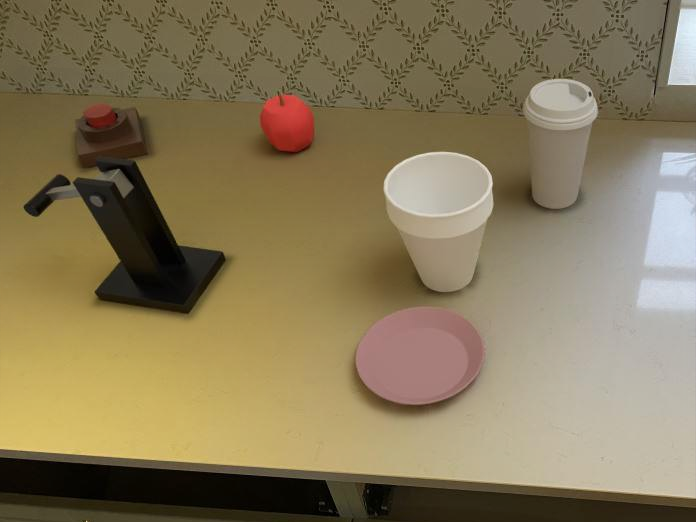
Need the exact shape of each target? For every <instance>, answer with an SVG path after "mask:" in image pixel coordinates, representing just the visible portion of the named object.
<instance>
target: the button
mask: <svg viewBox="0 0 696 522" xmlns="http://www.w3.org/2000/svg"><path fill="white" fill-rule="evenodd" d="M112 108H113V107H112V106H111V105H110V104H106V103H98V104H94V105H91V106H89V107H87V108H86V109H84V111H83V115H84V116H85V118H86V120H87V122H88V124H89V125H90V126H91V127H103V126H107V125H109V124H111V123H113V122H115V121H116V119H117V117H116V115H115V113H114V111H113V109H112Z"/></svg>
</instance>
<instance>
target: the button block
mask: <svg viewBox="0 0 696 522" xmlns="http://www.w3.org/2000/svg"><path fill="white" fill-rule="evenodd" d="M112 109H113V111H114V113H115V115H116V117H117V119H116V121H115V122H113V123H111V124H109V125H107V126H103V127H91V126H90V125H89V124H88V122H87V120H86V118H85V116H84V114H83V115H82V116H81V117H80V118H75V119H74V124H75V136H76V148H77V157H78V159H79V160H80V162H81V163H82V165H83V167H84V168H85V169H87V168H93V167H97V165H96V163H95V160H96V159H97V158H98V157H99V156H101V157H109V158H117V159H126V160H129V159H131V158H135V157H140V156H145V155H148V154H149V153H148V148H147V142H146V138H145V132H144V128H143V122H142V118H141V116H140V114H139V112H138V110H137V108H136V106H132V107H128V108H123V109H122V108H119V107H112Z"/></svg>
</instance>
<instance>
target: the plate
mask: <svg viewBox="0 0 696 522" xmlns="http://www.w3.org/2000/svg"><path fill="white" fill-rule="evenodd" d="M485 349H486V348H485V343H484V340H483V337H482V335H481V333H480V331H479V330H478V328H477V327H476V326H475V325H474V324H473V323H472V322H471V321H470V320H469V319H468V318H466V317H465V316H463V315H462V314H460V313H458V312H456V311H453V310H451V309H448V308H443V307H437V306H414V307H408V308H404V309H400V310H397V311H394V312H391V313H389V314H387V315H385V316H383V317H382V318H380V319H379V320H378V321H376V322H375V323H373V325H371V326H370V327H369V328H368V329H367V330H366V332H365V333H364V334H363V336H362V337H361V339H360V341H359V343H358V345H357V348H356V352H355V367H356V371H357V374H358V376H359V378H360V380H361V382H362V383H363V385H365V386H366V387H367V389H368V390H370V391H371V392H372V393H374V394H375V395H376V396H378V397H380V398H382V399H384V400H387V401H389V402H393V403H395V404H396V403H397V404H401V405H410V406H419V405H421V406H422V405H428V404H429V405H430V404H435V403H438V402H441V401H444V400H447V399H449V398H451V397H454V396H455V395H457V394H459V393H460V392H461V391H462V392H463V390H464V389H466V388H467V387H468V386H469V385H471V383H472V382H473V381H474V380H475V379H476V377H477V376H478V375H479V372H480V371H481V369H482V367H483V364H484V361H485V353H486V352H485Z"/></svg>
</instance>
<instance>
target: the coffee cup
mask: <svg viewBox="0 0 696 522" xmlns="http://www.w3.org/2000/svg"><path fill="white" fill-rule="evenodd" d="M522 112H523V115H524V117H525V118H526V122H527V137H528V149H529V151H528V152H529V164H530V165H529V166H530V180H531V181H530V182H531V196H532V199H533V201H534V202H535V203H536V204H537V205H539V206H541V207H543V208H547V209H553V210H560V209H565V208H568V207H571V206H572V205H574V204H575V203H576V202H577V199H578V196H579V192H580V191H579V190H580V186H581V180H582V176H583V171H584V165H585V162H586V161H585V160H586V156H587V150H588V146H589V142H590V137H591V136H590V135H591V131H592V126H593V123H594V121H595V120H596V118H597V117H598V115H599V108H598V104H597V100H596V98H595V96H594V93H593V90H592V89H591V88H590V87H589V86H588V85H586V84H584V83H583V82H580V81H577V80H574V79H569V78H552V79H547V80H543V81H541V82H539V83H537V84H535V85H534V86H533V87H532V88H531V89H530V92H529V94H528V95H527V97H526V99H525V100H524V103H523V108H522Z"/></svg>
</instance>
